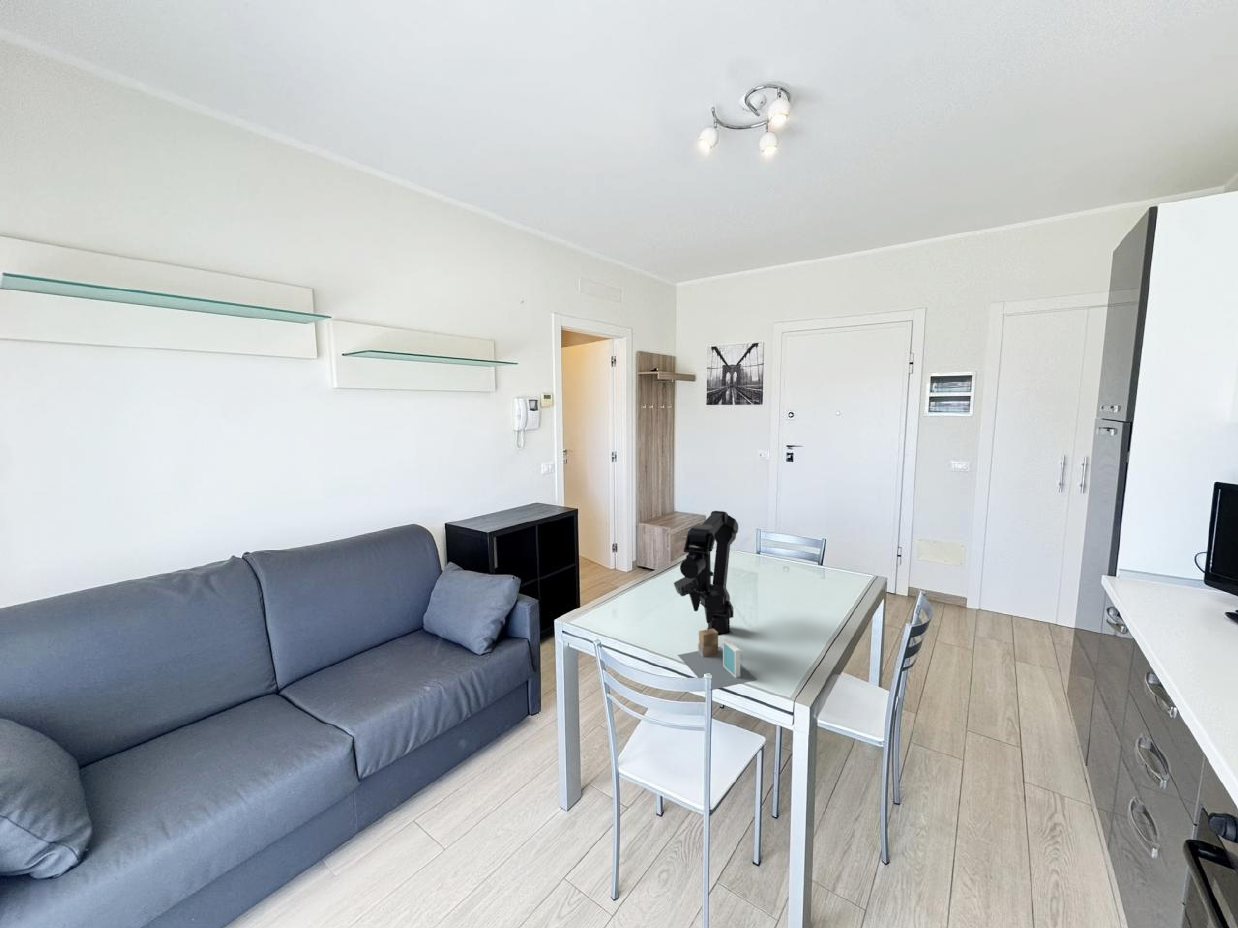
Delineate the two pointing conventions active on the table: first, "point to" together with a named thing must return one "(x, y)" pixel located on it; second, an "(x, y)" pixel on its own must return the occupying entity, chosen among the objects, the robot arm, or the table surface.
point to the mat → (715, 669)
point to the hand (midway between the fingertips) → (702, 616)
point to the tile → (731, 658)
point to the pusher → (708, 642)
